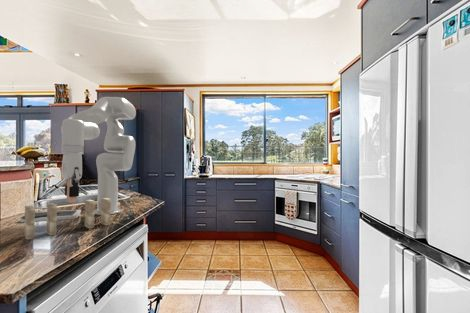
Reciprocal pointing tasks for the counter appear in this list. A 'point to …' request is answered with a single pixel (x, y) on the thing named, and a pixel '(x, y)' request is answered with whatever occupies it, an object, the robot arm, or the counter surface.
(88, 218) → the birch domino
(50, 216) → the birch domino
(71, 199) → the terracotta domino
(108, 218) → the birch domino
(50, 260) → the counter surface
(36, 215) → the picture frame
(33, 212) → the birch domino
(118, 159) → the robot arm
